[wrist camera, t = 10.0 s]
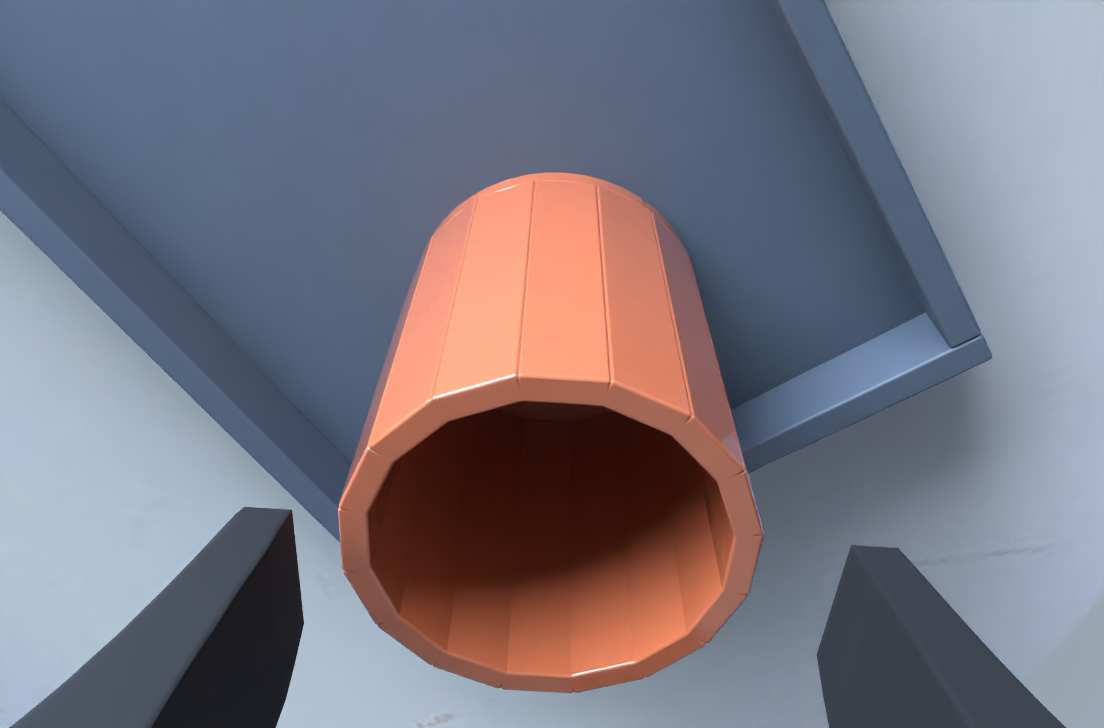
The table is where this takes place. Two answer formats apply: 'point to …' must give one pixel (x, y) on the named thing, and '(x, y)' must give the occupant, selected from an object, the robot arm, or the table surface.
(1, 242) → the table surface
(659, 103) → the tray
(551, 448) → the cup
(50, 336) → the table surface
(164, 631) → the robot arm
